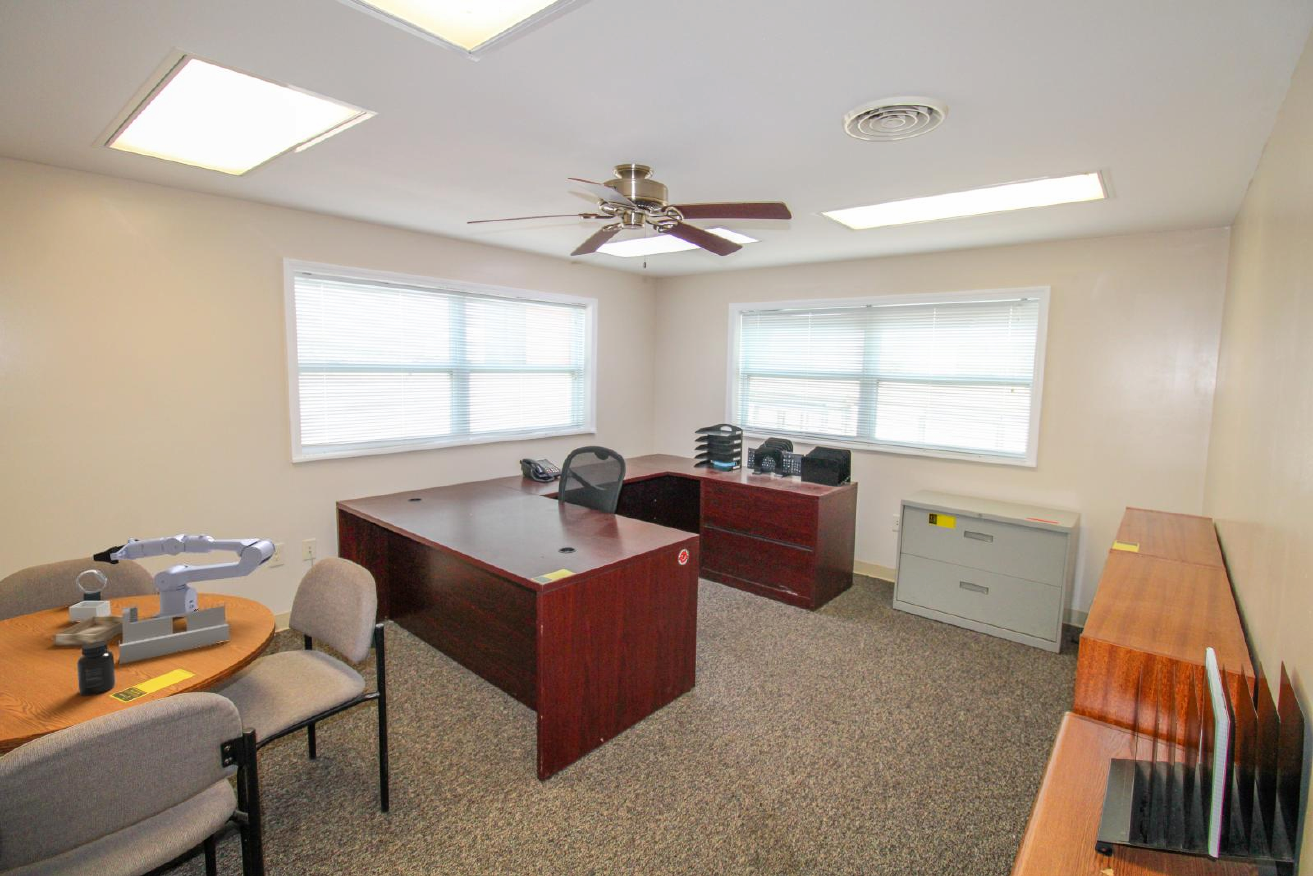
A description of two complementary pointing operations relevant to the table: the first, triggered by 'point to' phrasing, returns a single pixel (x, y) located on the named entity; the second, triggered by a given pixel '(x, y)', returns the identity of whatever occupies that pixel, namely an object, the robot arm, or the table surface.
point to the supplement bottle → (95, 669)
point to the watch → (94, 594)
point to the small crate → (89, 610)
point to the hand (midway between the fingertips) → (103, 554)
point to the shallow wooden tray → (90, 631)
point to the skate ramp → (170, 633)
